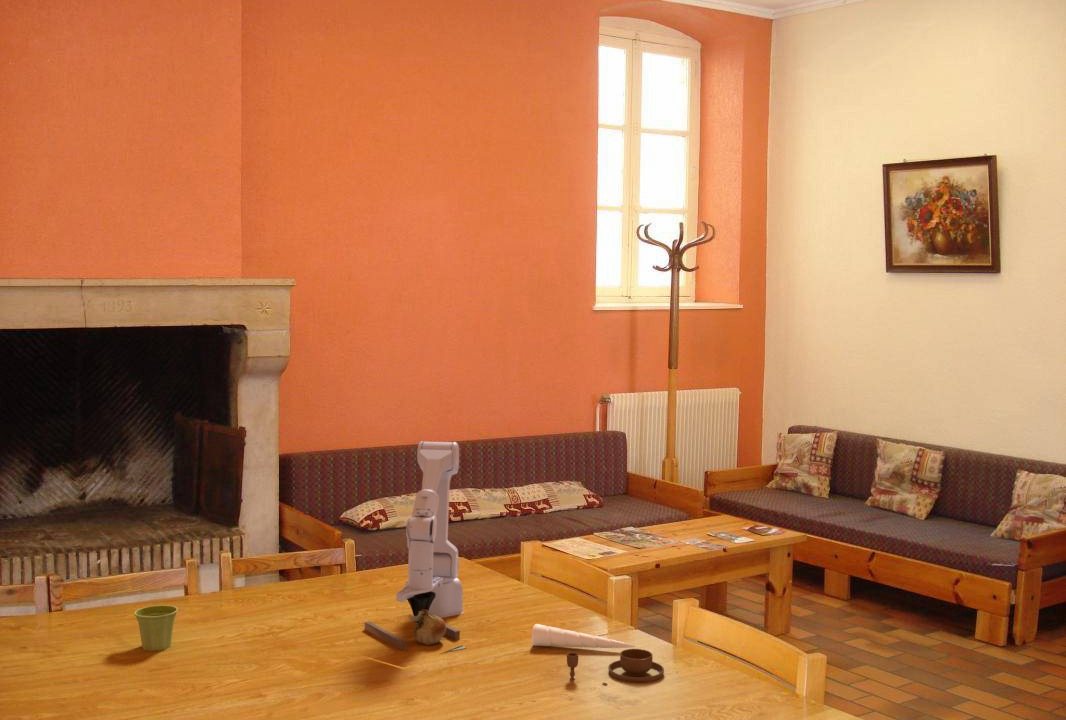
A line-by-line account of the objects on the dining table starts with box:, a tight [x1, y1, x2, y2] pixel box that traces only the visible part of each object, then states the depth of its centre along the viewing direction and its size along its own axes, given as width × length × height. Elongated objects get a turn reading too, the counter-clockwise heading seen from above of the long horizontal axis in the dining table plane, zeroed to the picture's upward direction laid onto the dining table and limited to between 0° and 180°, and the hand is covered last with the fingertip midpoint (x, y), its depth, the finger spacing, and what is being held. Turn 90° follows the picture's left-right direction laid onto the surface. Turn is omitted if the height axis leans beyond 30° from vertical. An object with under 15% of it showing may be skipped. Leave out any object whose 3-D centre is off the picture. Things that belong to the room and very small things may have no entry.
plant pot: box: [133, 604, 179, 652], centre depth 249 cm, size 9×9×9 cm
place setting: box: [566, 648, 665, 687], centre depth 236 cm, size 18×20×6 cm
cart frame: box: [364, 620, 461, 652], centre depth 259 cm, size 15×18×2 cm
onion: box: [408, 609, 446, 646], centre depth 254 cm, size 8×8×8 cm
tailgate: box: [440, 645, 467, 655], centre depth 249 cm, size 1×12×5 cm
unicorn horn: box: [531, 623, 636, 649], centre depth 250 cm, size 5×24×5 cm
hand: (419, 622), depth 257 cm, fingers closed, pressing on onion
